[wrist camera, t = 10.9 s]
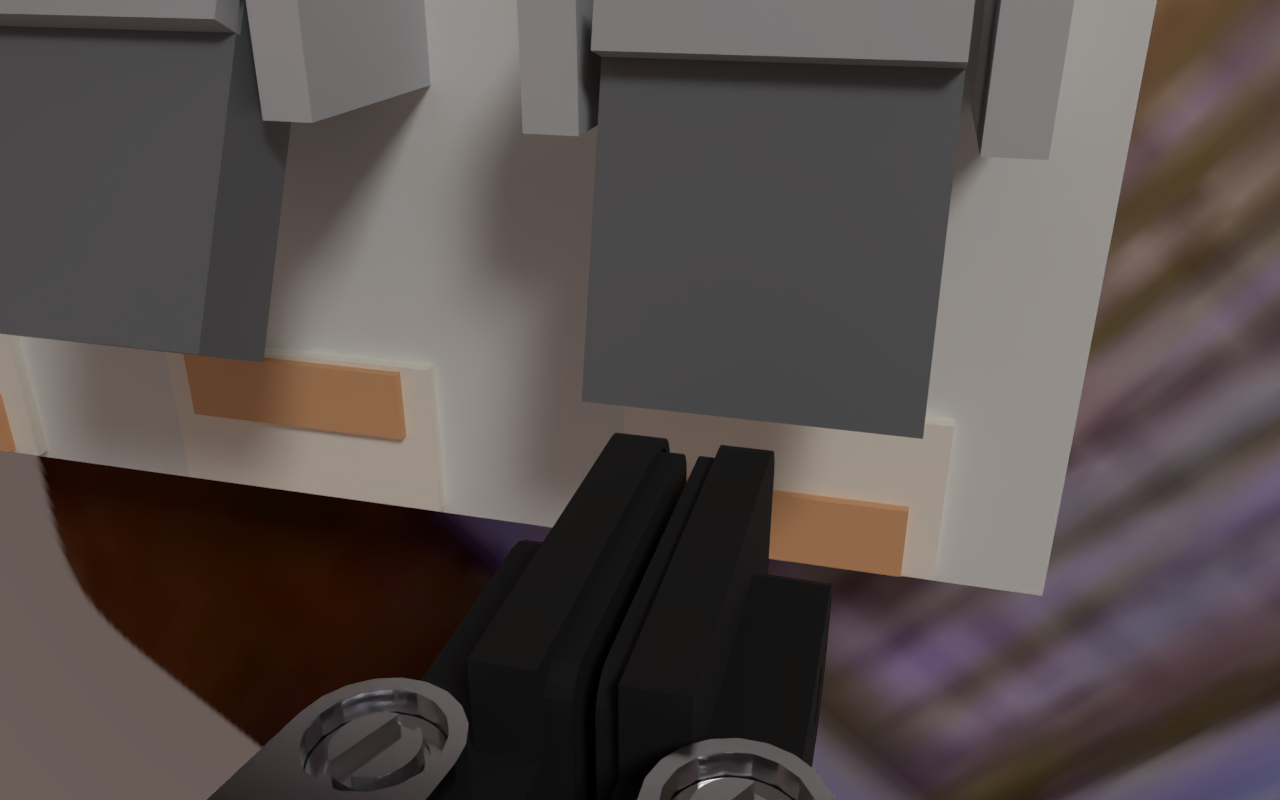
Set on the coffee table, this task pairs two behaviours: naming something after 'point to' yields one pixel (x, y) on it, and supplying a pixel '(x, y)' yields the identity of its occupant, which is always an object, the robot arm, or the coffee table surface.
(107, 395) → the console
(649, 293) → the rocker
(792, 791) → the robot arm
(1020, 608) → the coffee table surface
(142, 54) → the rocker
